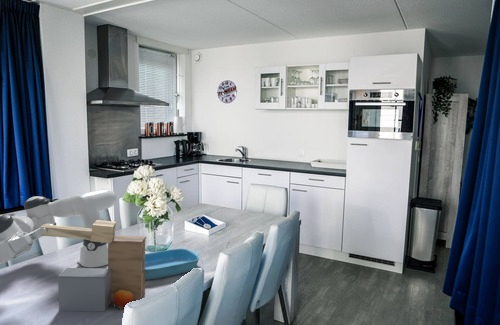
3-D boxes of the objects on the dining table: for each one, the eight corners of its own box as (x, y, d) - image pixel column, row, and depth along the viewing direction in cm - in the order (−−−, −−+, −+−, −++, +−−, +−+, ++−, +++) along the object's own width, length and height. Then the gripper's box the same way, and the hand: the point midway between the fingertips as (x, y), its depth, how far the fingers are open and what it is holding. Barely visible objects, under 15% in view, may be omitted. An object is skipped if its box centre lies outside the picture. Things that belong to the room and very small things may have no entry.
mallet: (44, 231, 152) (46, 215, 151) (114, 237, 157) (116, 221, 156) (37, 236, 145) (39, 219, 144) (110, 243, 150) (112, 226, 149)
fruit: (105, 307, 146) (112, 286, 149) (116, 308, 153) (123, 289, 156) (121, 311, 143) (128, 290, 146) (132, 313, 150) (138, 293, 153)
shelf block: (113, 291, 163) (113, 235, 160) (145, 292, 163) (146, 236, 161) (107, 299, 155) (107, 240, 152) (141, 299, 156) (141, 241, 153)
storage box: (67, 300, 153) (67, 267, 151) (111, 301, 154) (111, 268, 152) (58, 310, 144) (57, 276, 143) (104, 311, 145) (104, 277, 144)
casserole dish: (187, 257, 208) (188, 245, 208) (206, 270, 190) (207, 257, 190) (123, 270, 187) (123, 256, 186) (137, 286, 169) (137, 272, 168)
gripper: (38, 241, 159) (65, 226, 159) (8, 258, 139) (40, 242, 139) (31, 228, 159) (58, 214, 158) (0, 244, 138) (31, 227, 138)
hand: (49, 227), depth 148 cm, fingers closed on mallet, 4 cm apart
